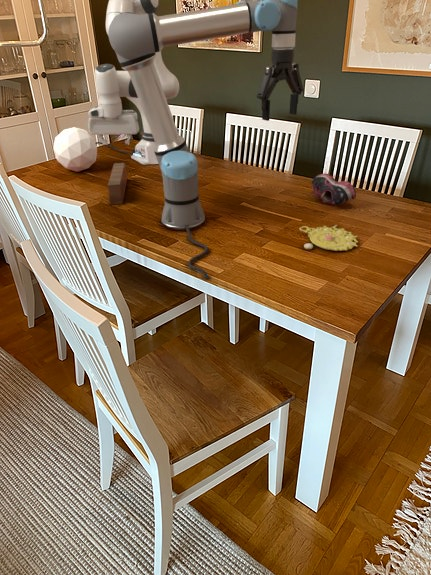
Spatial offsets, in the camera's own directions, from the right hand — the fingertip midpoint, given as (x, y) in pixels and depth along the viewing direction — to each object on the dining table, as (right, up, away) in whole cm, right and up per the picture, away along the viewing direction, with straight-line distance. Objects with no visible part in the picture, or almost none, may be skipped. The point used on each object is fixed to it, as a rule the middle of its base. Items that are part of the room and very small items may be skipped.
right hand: (279, 117), depth 155 cm
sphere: (-87, -4, +55) cm, 103 cm away
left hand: (-64, 0, +29) cm, 70 cm away
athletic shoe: (+20, -27, +14) cm, 36 cm away
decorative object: (+14, -45, -14) cm, 49 cm away
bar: (-62, -20, +28) cm, 72 cm away
